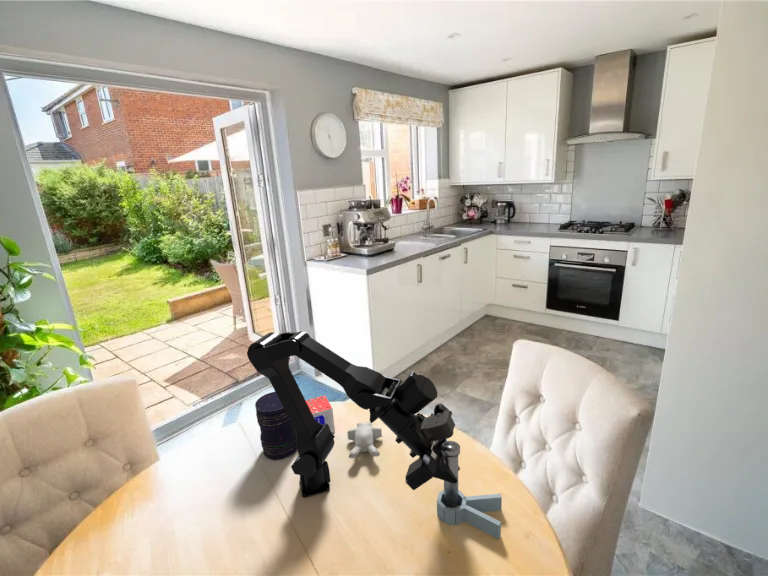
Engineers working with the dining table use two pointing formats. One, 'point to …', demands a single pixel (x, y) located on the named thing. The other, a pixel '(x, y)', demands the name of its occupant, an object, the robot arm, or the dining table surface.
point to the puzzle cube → (322, 411)
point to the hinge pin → (451, 461)
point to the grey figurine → (364, 439)
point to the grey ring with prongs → (472, 512)
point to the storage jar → (275, 428)
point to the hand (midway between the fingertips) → (457, 476)
